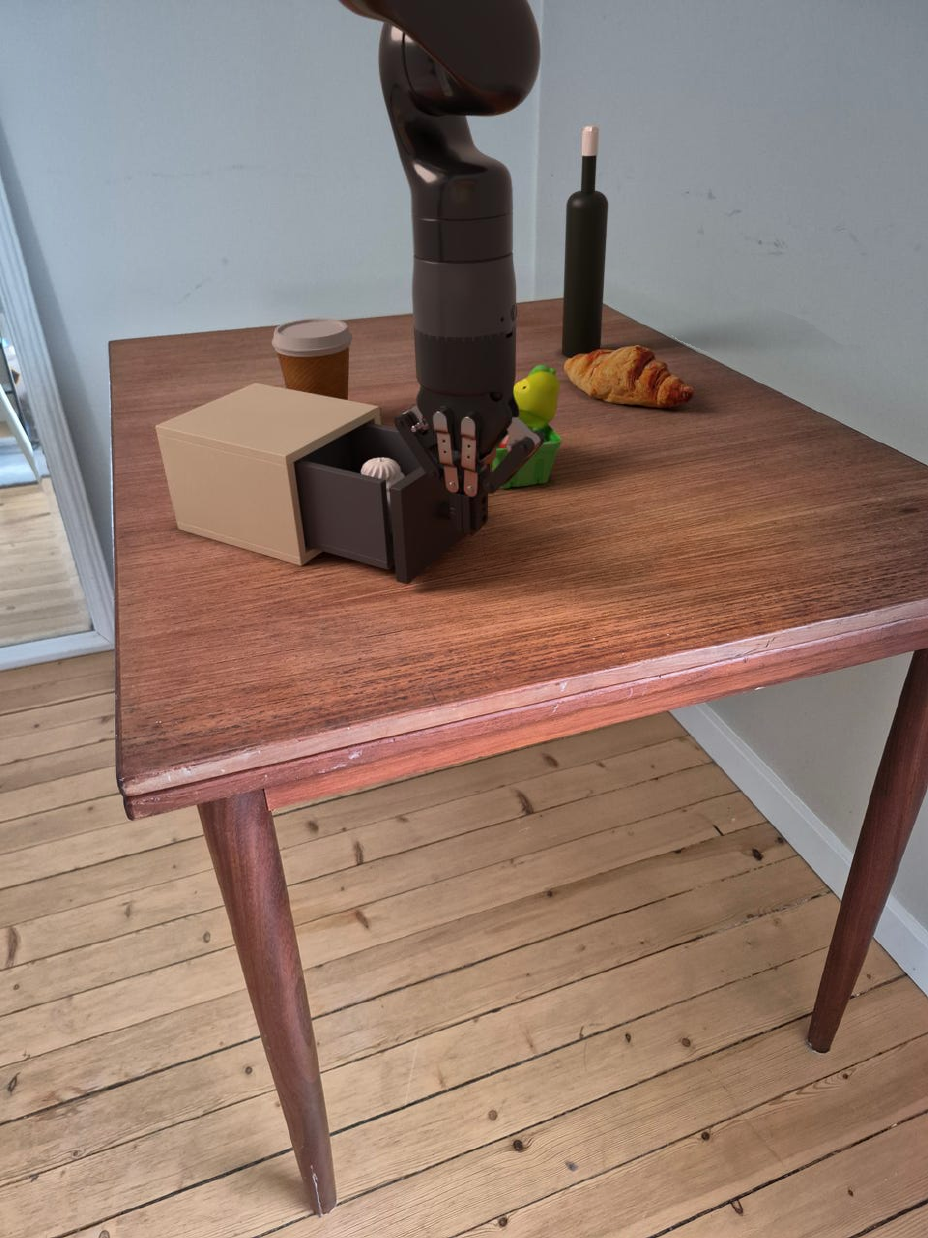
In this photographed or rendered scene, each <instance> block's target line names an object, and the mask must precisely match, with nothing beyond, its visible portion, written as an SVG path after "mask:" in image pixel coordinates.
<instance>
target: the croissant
mask: <svg viewBox="0 0 928 1238" xmlns="http://www.w3.org/2000/svg"><path fill="white" fill-rule="evenodd" d="M563 370H564V373H565V374H566V375H567V377H568V378H569V381H570V382H571V383H572V384H573V385H574V386H576V387H577V388H578V389H579V390H581V391H583V392H584V393H585V394H586V395H588V396H589V397H590V398H595V399H597V400H602V401H604V402H607V403H610V404H616V405H617V404H618V405H630V406H632V405H633V406H635V405H638V406H643V407H649V408H661V409H663V408H675V407H678V406H680V405H682V404H687V403H689V402H690V401H691V400H692V399H693V397H694V393H695V392H694V391H695V388H693V386H692V385H687V384H684V380H682V379H681V378H680V377H678V376H677V375H676V374H673V373H671V371H669V369H668V364H667V363H666V362H663V361H660V360H657V358H656V355H655V353H654V352H653V351H652V350H651V349H650V348H648V347H644V346H641V345H639V344H636V345H629V346H623V347H622V346H621V347H620V348H618V349H616V350H615V349H613V350H612V349H600V350H596V351H593V352H591V353H589V354H578V355H576V356H574V357H573V358H570V357H568V358H567V360H566V361H565V362H564V365H563Z"/></svg>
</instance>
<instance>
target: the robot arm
mask: <svg viewBox="0 0 928 1238" xmlns="http://www.w3.org/2000/svg"><path fill="white" fill-rule="evenodd" d="M336 1H337V2H338V3H339V4H340V5H341V6H342V7H344V8H345V9H346V10H347V11H349V12H350V13H352V14H354V15H356V16H357V17H361V18H364V19H367V20H368V19H369V20H372V21H373V20H374V21H377V22H381V23H382V26H381V30H380V35H379V41H378V54H377V65H378V76H379V83H380V88H381V93H382V98H383V102H384V105H385V108H386V112H387V116H388V120H389V123H390V127H391V130H392V134H393V139H394V142H395V145H396V149H397V153H398V156H399V160H400V163H401V166H402V170H403V173H404V175H405V179H406V182H407V185H408V188H409V189H408V190H409V195H410V213H411V214H410V219H411V220H410V221H411V238H412V239H411V240H412V254H413V255H412V257H413V258H412V265H413V266H412V275H411V303H412V304H411V305H412V306H411V307H412V319H413V320H412V321H413V340H414V359H415V376H416V381H417V383H418V384H419V390H418V392H417V394H416V398H415V402H416V403H415V404H416V405H414V406H412V407H411V408H409V409H407V410H406V411H404V412H402V413H401V414H398V415H397V416H395V417H394V418H393V419H394V420H393V425H394V428H397V430H398V431H399V433H400V434H401V436H402V438H403V439H404V441H405V442H406V444H407V445H408V447H409V448H410V450H411V451H412V453H413V454H414V456H415V457H416V459H417V460H418V462H419V464H420V465H421V467H422V468H423V470H424V471H425V473H426V474H427V476H428V477H429V478H430V479H431V480H433V481H436V480H439V481H441V482H443V483H444V484H445V485H446V487H447V489H448V490H449V495H450V519H451V521H452V524H453V525H455V530H456V532H458V533H462V534H466V535H468V536H471V537H473V536H475V535H476V534H477V533H478V532H480V531H481V530H482V529H483V527H484V526H485V525H487V523H488V521H489V495H493V494H495V493H496V492H498V490H500V488H501V486H503V485H505V484H506V483H508V482H509V481H510V480H511V479H512V478H513V477H514V475H515V474H516V473H517V472H518V471H519V470H520V469H521V468H522V467H523V465H524V464H525V463H526V462H527V461H528V460H529V459H530V458H531V456H532V455H533V454H534V453H535V452H536V451H537V450H538V449H539V447H540V446H541V445H542V444H543V443H544V441H545V437H544V434H543V433H542V432H541V431H539V430H535V431H533V432H532V431H531V430H530V429H529V428H528V427H527V426H526V425H525V424H524V423H523V422H522V421H521V420H520V419H519V418H518V417H519V406H518V404H517V402H516V399H515V396H514V385H515V384H516V377H517V317H518V306H517V281H516V280H517V279H516V272H515V271H516V270H515V264H514V252H513V251H514V190H513V189H514V188H513V179H512V175H511V172H510V170H509V168H508V167H507V165H505V164H504V163H503V162H501V161H499V160H498V159H496V158H494V157H493V156H489V155H488V154H485V153H484V152H483V151H481V150H479V149H478V148H477V146H476V145H475V142H474V140H473V136H472V133H471V130H470V126H469V122H468V119H467V117H478V118H479V117H480V118H488V117H491V118H492V117H496V116H501V115H505V114H507V113H510V112H512V111H513V110H515V109H516V108H518V107H520V105H521V104H522V103H524V102H525V100H526V99H527V98H528V96H529V95H530V94H531V92H532V90H533V89H534V87H535V84H536V82H537V79H538V76H539V71H540V67H541V66H540V65H541V57H542V56H541V55H542V50H541V49H542V47H541V38H540V32H539V31H540V30H539V28H538V24H537V20H536V18H535V15H534V11H533V10H532V8H531V5H530V3H529V1H528V0H336ZM507 433H508V434H509V438H508V440H507V443H506V450H507V451H508V452H509V453H508V454H507V455H506V456H505V458H504V459H503V460H502V461H501V462H500V463H499V465H498V466H497V467H496V468H495V469H494V470H493V472H492V466H493V461H494V459H495V457H496V449H497V445H498V444H499V443H500V442H501V440H502V439H503V438H504V436H505V435H506V434H507ZM430 452H431V453H430ZM431 454H432V455H433V456H432V455H431ZM433 457H434V458H435V459H434V458H433ZM435 460H436V461H437V462H436V461H435Z"/></svg>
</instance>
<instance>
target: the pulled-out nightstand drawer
mask: <svg viewBox="0 0 928 1238" xmlns="http://www.w3.org/2000/svg"><path fill="white" fill-rule="evenodd" d="M430 453H431V452H430ZM431 455H432V454H431ZM432 456H433V455H432ZM382 457H384V458H390V459H392V460H394V461H395V462H396V463H397V464H398V465H399V466H400V469H401V472H402V473H403V474H404V476H405V477H404V478H403V479H401V480H400V481H398V482H397V483H395V484H393V485H392V486H390V487H389V492H390V505H391V518H392V531H393V534H392V535H390V526H389V514H388V501H387V488H386V480H385V479H381V478H376V477H372V476H368V475H364V474H361V469H362V466H363V465H364V464H365V463H366V462H367V461H368V460H372V459H374V458H382ZM433 458H434V457H433ZM434 459H435V458H434ZM435 461H436V460H435ZM436 462H437V461H436ZM293 463H294V470H295V477H296V484H297V491H298V499H299V506H300V513H301V520H302V527H303V535H304V542H305V546H307V547H311V548H314V549H318V550H321V551H323V552H325V553H328V554H331V555H335V556H338V557H342V558H345V559H349V560H351V561H352V560H353V561H356V562H360V563H363V564H366V565H370V566H374V567H377V568H381V569H384V570H390V569H391V568H392V567H394V569H395V580H396V582H398V583H401V584H403V585H409V584H410V583H412V582H413V581H414V580H415V579H416V578H417V577H419V576H420V575H422V574H423V573H424V572H425V571H427V569H429V568H430V567H431V566H432V565H434V564H435V563H437V561H439V560H440V559H441V558H442V557H444V556H445V555H446V554H447V553H448V552H450V551H451V550H452V549H454V547H456V546H457V545H458V544H460V543H461V542H462V541H463V540H464V539H466V538H467V537H468V536H469V535H466V534H462V533H458V532H456V530H455V525H453V524H452V521H451V519H450V495H449V490H448V489H447V487H446V485H445V484H444V483H443V482H441V481H439V480H436V481H433V480H431V479H430V478H429V477H428V476H427V474H426V473H425V471H424V470H423V468H422V467H421V465H420V464H419V462H418V460H417V459H416V457H415V456H414V454H413V453H412V451H411V450H410V448H409V447H408V445H407V444H406V442H405V441H404V439H403V438H402V436H401V434H400V433H399V431H398V430H397V428H396V427H393V426H389V425H383V424H381V425H379V424H374V423H369V422H366V423H364V424H362V425H361V426H359V427H357V428H355V429H353V430H351V431H350V432H348V433H346V434H344V435H342V436H340V437H339V438H337V439H335V440H333V441H331V442H329V443H328V444H326V445H324V446H322V447H320V448H318V449H317V450H315V451H313V452H311V453H309V454H307V455H306V456H304V457H302V458H300V459H298V460H296V461H295V462H293Z"/></svg>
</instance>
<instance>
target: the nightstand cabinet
mask: <svg viewBox="0 0 928 1238" xmlns="http://www.w3.org/2000/svg"><path fill="white" fill-rule="evenodd" d="M380 410H381V409H380V406H379V405H374V404H369V403H363V402H359V401H353V400H349V399H348V400H343V399H338V398H333V397H327V396H322V395H317V394H312V393H306V392H301V391H296V390H291V389H287V388H286V387H280V386H273V385H270V384H263V383H259V382H254V383H252V384H249V385H247V386H245V387H243V388H240V389H237V390H235V391H233V392H230V393H228V394H226V395H223V396H221V397H219V398H216V399H214V400H212V401H209V402H207V403H205V404H203V405H200V406H198V407H196V408H193V409H192V410H189V411H186V412H184V413H182V414H178V415H177V416H175V417H172V418H170V419H168V420H165V421H163V422H161V423H158V424H155V426H154V427H155V428H154V429H155V431H156V436H157V440H158V445H159V451H160V455H161V459H162V464H163V468H164V472H165V478H166V482H167V486H168V490H169V494H170V499H171V503H172V508H173V512H174V517H175V522H176V525H177V530H180V531H183V532H186V533H190V534H193V535H196V536H200V537H203V538H207V539H209V540H213V541H217V542H220V543H223V544H227V545H230V546H233V547H236V548H240V549H243V550H246V551H250V552H253V553H257V554H260V555H262V556H267V557H270V558H273V559H276V560H278V561H279V560H280V561H282V562H287V563H288V564H289V563H290V564H293V565H296V566H300V567H302V566H304V565H305V564H307V563H308V562H310V561H311V560H312V559H314V558H316V557H317V556H318V555H320V554H322V553H323V552H324V551H321V550H318V549H314V548H311V547H307V546H305V542H304V535H303V527H302V520H301V513H300V506H299V499H298V491H297V484H296V477H295V470H294V463H293V462H295V461H296V460H298V459H300V458H302V457H304V456H306V455H307V454H309V453H311V452H313V451H315V450H317V449H318V448H320V447H322V446H324V445H326V444H328V443H329V442H331V441H333V440H335V439H337V438H339V437H340V436H342V435H344V434H346V433H348V432H350V431H351V430H353V429H355V428H357V427H359V426H361V425H362V424H364V423H366V422H369V423H374V424H379V425H382V422H381V412H380Z"/></svg>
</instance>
